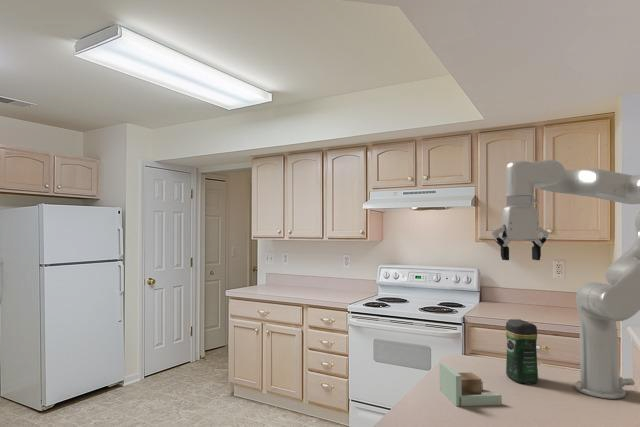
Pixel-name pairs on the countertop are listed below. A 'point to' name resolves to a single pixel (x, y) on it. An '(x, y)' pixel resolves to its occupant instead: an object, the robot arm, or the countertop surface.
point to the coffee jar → (521, 351)
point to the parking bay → (453, 390)
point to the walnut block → (470, 384)
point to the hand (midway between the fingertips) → (520, 260)
